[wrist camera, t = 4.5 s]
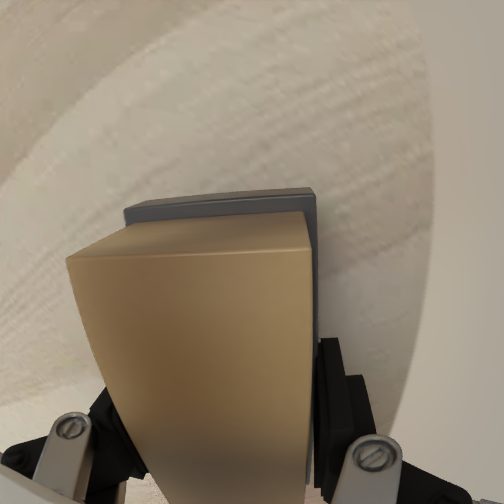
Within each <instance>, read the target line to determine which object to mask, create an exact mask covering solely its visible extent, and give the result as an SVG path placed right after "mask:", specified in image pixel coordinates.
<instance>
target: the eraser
mask: <svg viewBox="0 0 504 504" xmlns="http://www.w3.org/2000/svg"><path fill="white" fill-rule="evenodd" d="M123 213H124V219H125V226H126V227H125V228H123V229H121V230H119V231H117V232H115V233H113V234H111V235H109V236H107V237H105V238H103V239H101V240H99V241H97V242H95V243H93V244H92V245H90V246H88V247H86V248H84V249H82V250H80V251H78V252H76V253H74V254H73V255H71V256H69V257H67V258H66V261H65V262H66V266H67V270H68V274H69V278H70V282H71V285H72V289H73V293H74V296H75V300H76V303H77V307H78V310H79V313H80V316H81V319H82V323H83V326H84V329H85V332H86V335H87V338H88V340H89V343H90V346H91V349H92V352H93V354H94V357H95V360H96V362H97V365H98V367H99V370H100V372H101V375H102V377H103V380H104V382H105V385H106V387H107V389H108V392H109V394H110V396H111V398H112V401H113V403H114V405H115V407H116V409H117V412H118V414H119V416H120V418H121V420H122V422H123V424H124V426H125V428H126V430H127V432H128V434H129V436H130V438H131V440H132V442H133V444H134V446H135V447H136V449H137V451H138V453H139V455H140V457H141V458H142V460H143V462H144V464H145V465H146V467H147V469H148V471H149V472H150V474H151V476H152V477H153V479H154V481H155V482H156V484H157V485H158V487H159V489H160V490H161V492H162V493H163V495H164V496H165V498H166V499H167V501H168V502H169V504H304V499H305V489H306V485H308V484H309V482H310V472H311V461H312V449H313V436H314V433H313V419H314V401H315V378H316V356H317V355H318V238H317V211H316V196H315V194H314V192H313V190H312V189H311V188H309V187H307V188H287V189H269V190H254V191H240V192H228V193H216V194H205V195H194V196H184V197H174V198H165V199H156V200H148V201H144V202H141V203H139V204H136V205H133V206H130V207H128V208H125V209H124V211H123Z"/></svg>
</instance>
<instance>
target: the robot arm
mask: <svg viewBox="0 0 504 504" xmlns="http://www.w3.org/2000/svg"><path fill="white" fill-rule="evenodd" d="M313 433H314V488H321V496H323V500H324V501H325V502H327V503H328V504H501V503H497V502H493V501H489V500H485V499H481V500H480V501H475V500H472V498H471V496H470V495H469V493H468V492H467V491H466V490H464V489H463V488H461V487H459V486H457V485H454V484H452V483H450V482H447V481H445V480H443V479H440V478H438V477H436V476H434V475H432V474H430V473H428V472H426V471H423V470H421V469H419V468H417V467H415V466H413V465H411V464H409V463H407V462H405V461H403V460H402V457H403V456H402V449H401V447H400V446H399V444H398V443H397V442H396V441H395V440H394V439H392V438H390V437H388V436H385V435H380V434H377V432H376V428H375V423H374V419H373V414H372V410H371V406H370V402H369V398H368V393H367V389H366V385H365V382H364V378H363V376H362V374H361V375H349V376H345V371H344V366H343V360H342V355H341V350H340V346H339V341H338V338H321V343H318V355H317V356H316V378H315V401H314V419H313ZM146 473H150V472H149V471H148V469H147V467H146V465H145V464H144V462H143V460H142V458H141V457H140V455H139V453H138V451H137V449H136V447H135V446H134V444H133V442H132V440H131V438H130V436H129V434H128V432H127V430H126V428H125V426H124V424H123V422H122V420H121V418H120V416H119V414H118V412H117V409H116V407H115V405H114V403H113V401H112V398H111V396H110V394H109V392H108V389H107V387H105V388H104V390H103V391H102V392H101V394H100V395H99V396H98V398H97V399H96V401H95V402H94V403H93V405H92V406H91V407H90V412H89V413H88V415H86V414H84V413H81V412H70V413H66V414H64V415H62V416H60V417H59V418H58V419H57V420H56V421H55V422H54V424H53V426H52V428H51V430H50V433H49V435H48V436H44V437H41V438H38V439H34V440H31V441H27V442H24V443H20V444H16V445H13V446H11V447H9V448H8V449H7V450H6V451H5V452H4V453H3V454H2V453H1V452H0V504H124V503H125V493H126V484H127V483H126V480H128V479H129V477H134V478H137V479H141V480H143V479H144V477H145V474H146Z"/></svg>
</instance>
